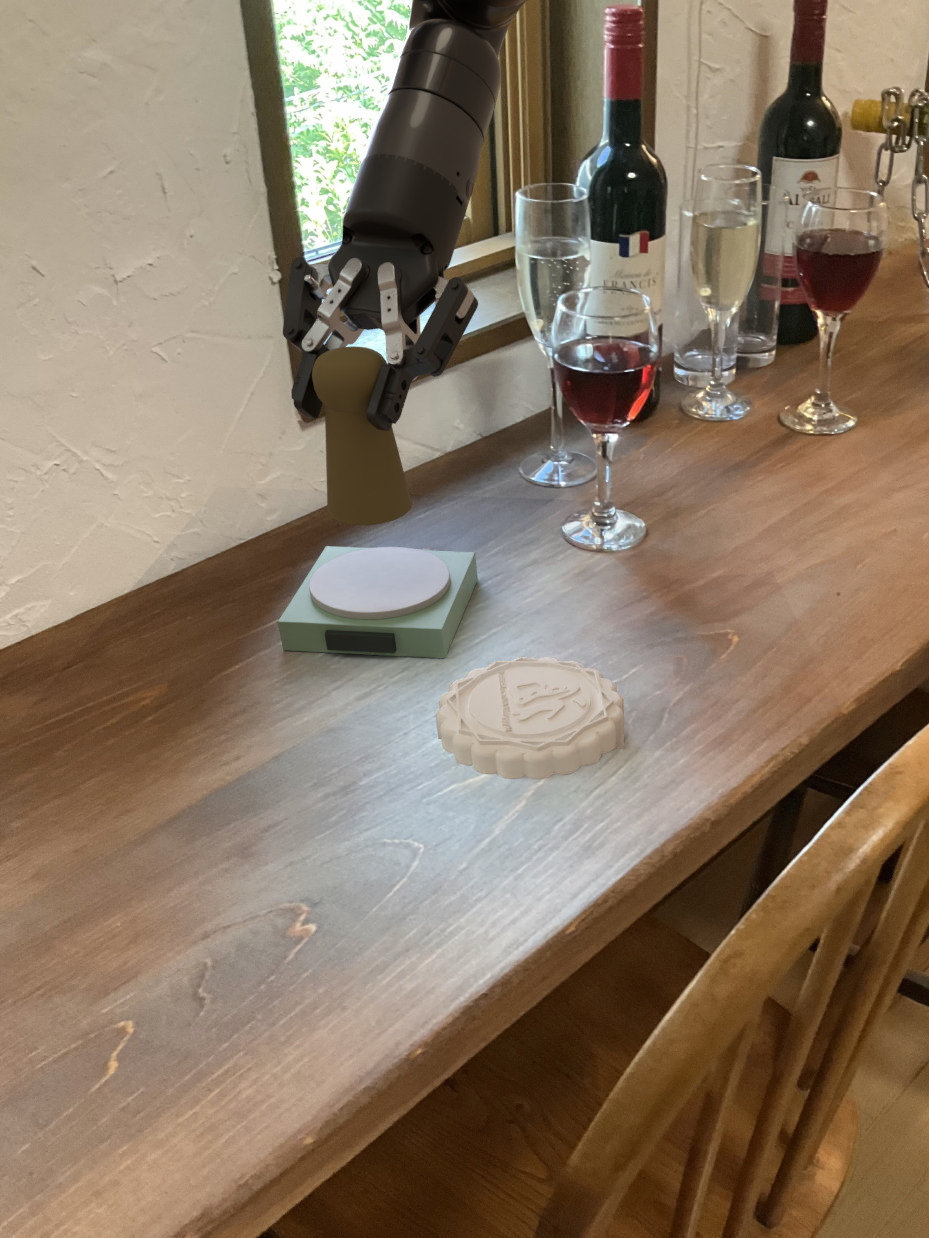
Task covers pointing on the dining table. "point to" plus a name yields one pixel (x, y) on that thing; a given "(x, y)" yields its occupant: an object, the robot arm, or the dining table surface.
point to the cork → (358, 441)
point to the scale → (380, 602)
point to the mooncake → (531, 718)
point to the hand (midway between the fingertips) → (341, 418)
